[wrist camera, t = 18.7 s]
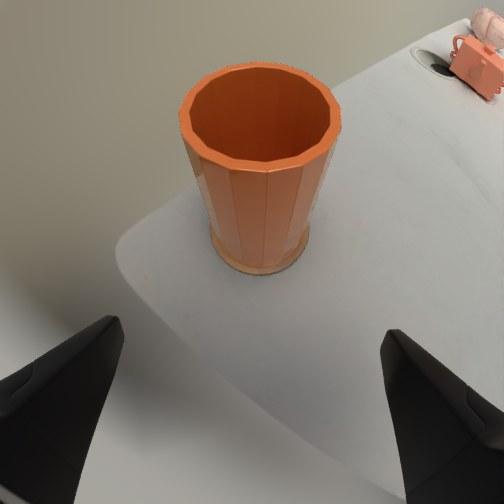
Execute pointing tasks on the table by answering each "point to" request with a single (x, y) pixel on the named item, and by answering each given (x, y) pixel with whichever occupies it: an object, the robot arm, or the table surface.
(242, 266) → the coaster
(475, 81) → the teapot
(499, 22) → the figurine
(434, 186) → the table surface
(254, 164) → the cup
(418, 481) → the robot arm
